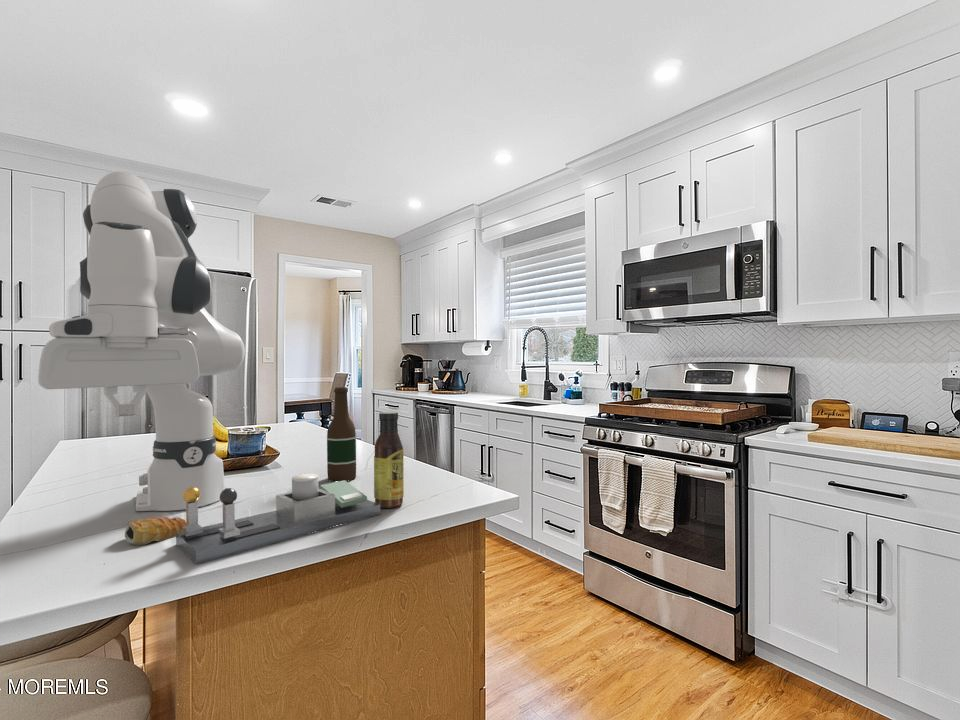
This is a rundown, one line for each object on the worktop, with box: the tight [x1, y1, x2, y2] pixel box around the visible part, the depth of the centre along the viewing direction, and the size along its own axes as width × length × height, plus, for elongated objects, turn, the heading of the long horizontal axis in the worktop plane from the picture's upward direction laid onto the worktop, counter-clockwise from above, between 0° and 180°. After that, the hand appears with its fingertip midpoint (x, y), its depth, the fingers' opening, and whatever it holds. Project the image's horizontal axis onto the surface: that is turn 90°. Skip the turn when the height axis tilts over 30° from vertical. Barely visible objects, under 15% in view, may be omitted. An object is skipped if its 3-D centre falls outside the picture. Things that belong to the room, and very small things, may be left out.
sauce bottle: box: [373, 411, 405, 509], centre depth 108 cm, size 7×6×20 cm
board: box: [175, 487, 381, 565], centre depth 93 cm, size 12×34×6 cm, turn 135°
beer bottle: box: [326, 386, 357, 482], centre depth 132 cm, size 8×8×24 cm
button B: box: [291, 473, 320, 501], centre depth 96 cm, size 5×5×4 cm
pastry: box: [124, 516, 186, 546], centre depth 90 cm, size 9×7×4 cm
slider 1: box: [182, 487, 203, 536], centre depth 84 cm, size 3×3×8 cm
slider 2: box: [218, 487, 240, 538], centre depth 83 cm, size 3×3×8 cm
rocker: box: [319, 480, 368, 508], centre depth 102 cm, size 9×6×1 cm, turn 45°
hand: (125, 415), depth 78 cm, fingers closed
